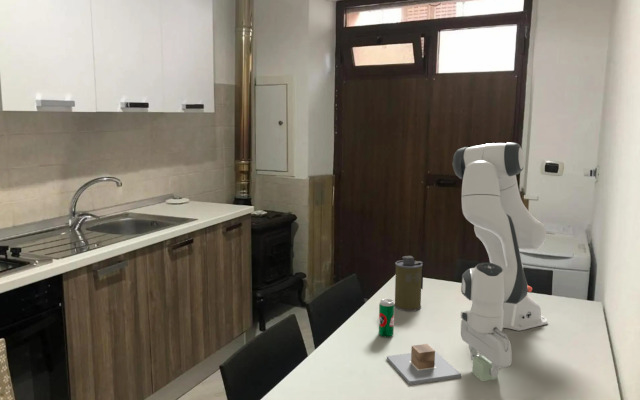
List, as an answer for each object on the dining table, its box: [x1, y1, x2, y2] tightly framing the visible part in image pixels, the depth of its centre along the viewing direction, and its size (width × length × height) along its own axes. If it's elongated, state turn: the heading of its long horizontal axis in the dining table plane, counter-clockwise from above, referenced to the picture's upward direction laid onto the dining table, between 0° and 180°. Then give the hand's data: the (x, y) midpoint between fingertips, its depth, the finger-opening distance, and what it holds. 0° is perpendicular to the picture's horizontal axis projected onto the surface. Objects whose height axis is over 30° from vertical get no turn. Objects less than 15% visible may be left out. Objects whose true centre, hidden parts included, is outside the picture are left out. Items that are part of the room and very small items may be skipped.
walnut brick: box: [410, 343, 436, 369], centre depth 152 cm, size 5×5×5 cm
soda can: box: [378, 298, 395, 338], centre depth 175 cm, size 5×5×12 cm
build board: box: [386, 349, 462, 386], centre depth 152 cm, size 16×16×1 cm
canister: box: [394, 255, 424, 312], centre depth 202 cm, size 11×10×20 cm
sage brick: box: [471, 355, 499, 382], centre depth 148 cm, size 5×5×5 cm
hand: (483, 368), depth 148 cm, fingers open, 8 cm apart
